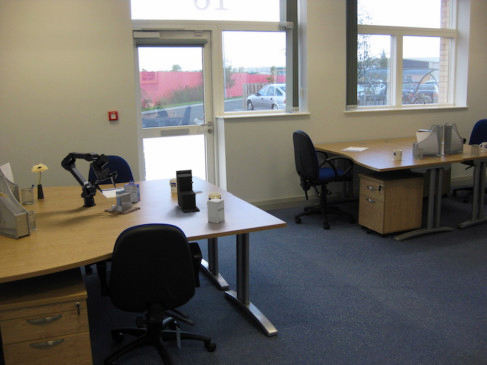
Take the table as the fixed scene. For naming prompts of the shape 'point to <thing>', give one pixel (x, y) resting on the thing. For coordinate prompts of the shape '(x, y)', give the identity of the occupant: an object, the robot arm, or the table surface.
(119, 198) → the book
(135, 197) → the ink cartridge box
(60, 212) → the table surface
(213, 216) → the supplement box
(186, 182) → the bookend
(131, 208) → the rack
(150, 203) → the table surface
